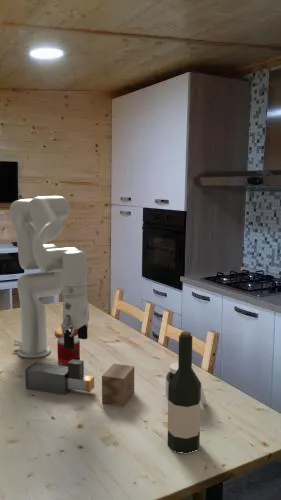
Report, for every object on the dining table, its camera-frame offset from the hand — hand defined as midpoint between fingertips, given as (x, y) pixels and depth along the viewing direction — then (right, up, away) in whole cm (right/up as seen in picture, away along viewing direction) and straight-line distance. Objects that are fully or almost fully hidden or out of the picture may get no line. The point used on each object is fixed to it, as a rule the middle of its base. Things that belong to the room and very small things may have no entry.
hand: (76, 343), depth 148 cm
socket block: (+13, -17, -2) cm, 22 cm away
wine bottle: (+31, -21, -27) cm, 46 cm away
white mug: (+35, -18, -4) cm, 39 cm away
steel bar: (-5, -14, +4) cm, 16 cm away
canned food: (-5, -14, +21) cm, 26 cm away
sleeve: (-9, -16, +6) cm, 19 cm away
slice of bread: (-11, -8, +63) cm, 65 cm away
